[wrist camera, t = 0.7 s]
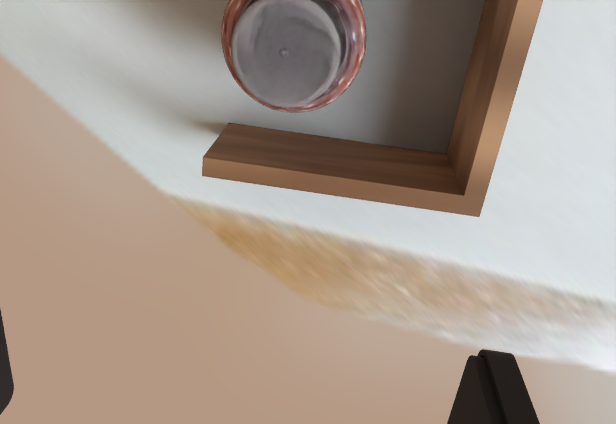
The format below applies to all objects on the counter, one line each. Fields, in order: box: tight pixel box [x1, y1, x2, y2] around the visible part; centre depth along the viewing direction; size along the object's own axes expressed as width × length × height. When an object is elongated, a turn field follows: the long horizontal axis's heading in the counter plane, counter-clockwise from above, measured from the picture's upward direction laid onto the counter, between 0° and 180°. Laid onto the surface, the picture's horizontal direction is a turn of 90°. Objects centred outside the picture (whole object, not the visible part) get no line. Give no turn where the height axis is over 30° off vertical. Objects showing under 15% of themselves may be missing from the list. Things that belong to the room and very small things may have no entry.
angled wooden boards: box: [202, 0, 543, 217], centre depth 26 cm, size 15×14×6 cm
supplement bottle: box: [221, 0, 366, 112], centre depth 24 cm, size 6×6×11 cm
